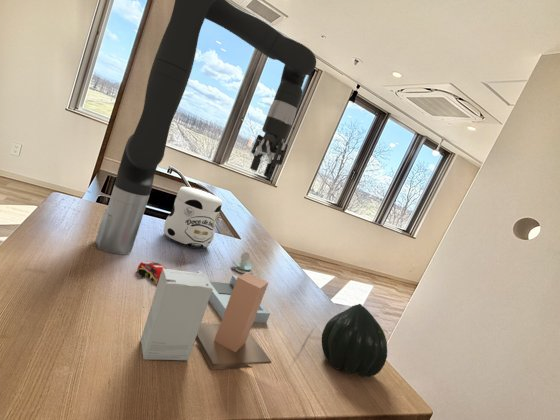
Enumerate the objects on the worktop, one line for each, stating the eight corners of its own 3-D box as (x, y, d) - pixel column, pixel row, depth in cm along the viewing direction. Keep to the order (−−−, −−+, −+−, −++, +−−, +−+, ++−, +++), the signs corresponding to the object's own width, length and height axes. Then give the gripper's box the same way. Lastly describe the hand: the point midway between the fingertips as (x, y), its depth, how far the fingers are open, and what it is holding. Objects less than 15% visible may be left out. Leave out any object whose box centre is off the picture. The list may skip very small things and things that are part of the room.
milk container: (194, 256, 118) (212, 204, 115) (150, 235, 122) (167, 184, 119) (217, 247, 135) (233, 202, 132) (177, 229, 138) (192, 185, 136)
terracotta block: (214, 340, 72) (237, 277, 70) (225, 331, 77) (247, 272, 75) (235, 352, 71) (260, 288, 69) (245, 342, 76) (268, 282, 74)
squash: (390, 381, 74) (401, 312, 82) (320, 353, 75) (338, 289, 84) (369, 391, 85) (380, 330, 94) (309, 367, 87) (325, 309, 95)
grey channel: (222, 324, 82) (227, 311, 81) (193, 282, 98) (197, 271, 97) (265, 326, 89) (270, 313, 88) (232, 286, 105) (236, 275, 104)
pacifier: (254, 276, 121) (246, 267, 126) (261, 259, 120) (253, 251, 125) (236, 274, 117) (228, 265, 121) (243, 256, 116) (235, 248, 120)
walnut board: (211, 369, 65) (213, 363, 65) (188, 328, 76) (190, 322, 76) (269, 366, 73) (271, 361, 73) (241, 329, 83) (243, 324, 83)
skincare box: (182, 342, 70) (207, 273, 68) (188, 363, 65) (215, 288, 63) (137, 339, 66) (162, 265, 64) (140, 361, 61) (167, 281, 59)
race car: (181, 295, 89) (186, 280, 89) (162, 297, 85) (168, 282, 84) (151, 270, 97) (156, 256, 96) (133, 271, 92) (138, 256, 92)
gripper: (257, 112, 107) (238, 164, 109) (282, 117, 96) (260, 175, 98) (277, 121, 111) (259, 171, 114) (303, 127, 100) (282, 182, 102)
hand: (260, 173), depth 106 cm, fingers open, 8 cm apart
